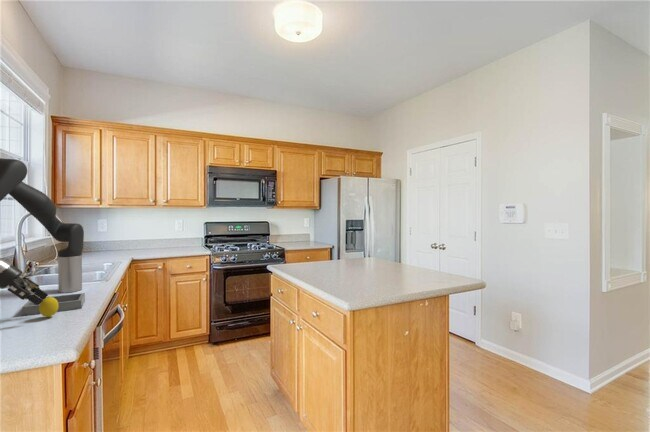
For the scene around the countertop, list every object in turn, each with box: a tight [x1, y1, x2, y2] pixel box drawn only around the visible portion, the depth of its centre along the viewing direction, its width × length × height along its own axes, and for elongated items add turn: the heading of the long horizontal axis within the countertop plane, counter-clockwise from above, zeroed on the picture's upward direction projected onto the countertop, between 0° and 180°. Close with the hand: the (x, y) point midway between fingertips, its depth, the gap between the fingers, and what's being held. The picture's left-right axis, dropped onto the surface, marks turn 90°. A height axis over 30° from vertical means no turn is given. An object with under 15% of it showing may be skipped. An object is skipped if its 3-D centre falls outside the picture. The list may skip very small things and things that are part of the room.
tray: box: [21, 292, 86, 317], centre depth 132 cm, size 13×18×3 cm
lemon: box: [39, 295, 59, 318], centre depth 120 cm, size 6×6×8 cm
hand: (43, 300), depth 120 cm, fingers open, 8 cm apart
